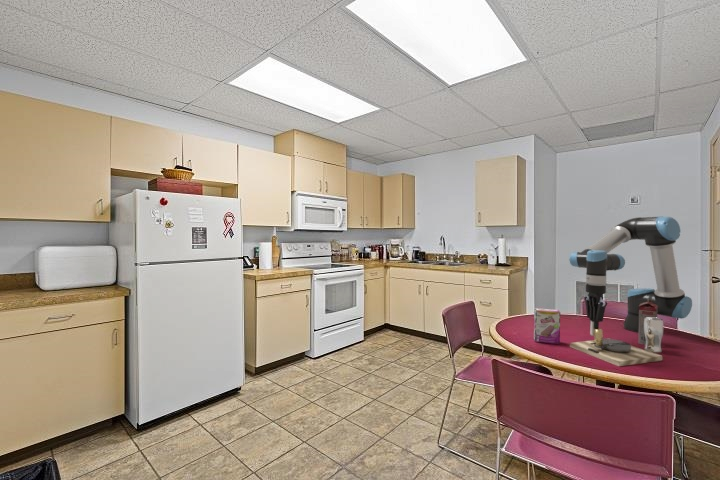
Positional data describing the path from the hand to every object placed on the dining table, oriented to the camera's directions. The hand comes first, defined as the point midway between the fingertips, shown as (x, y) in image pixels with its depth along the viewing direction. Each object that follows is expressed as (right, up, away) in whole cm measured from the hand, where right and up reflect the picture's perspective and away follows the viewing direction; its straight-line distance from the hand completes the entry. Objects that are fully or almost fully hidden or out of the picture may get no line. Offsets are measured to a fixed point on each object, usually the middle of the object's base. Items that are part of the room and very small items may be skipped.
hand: (594, 335), depth 155 cm
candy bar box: (-13, -8, +16) cm, 22 cm away
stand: (+8, -8, -1) cm, 12 cm away
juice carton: (+35, -8, +12) cm, 38 cm away
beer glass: (+29, -8, +3) cm, 30 cm away
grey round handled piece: (+6, -6, -1) cm, 8 cm away
